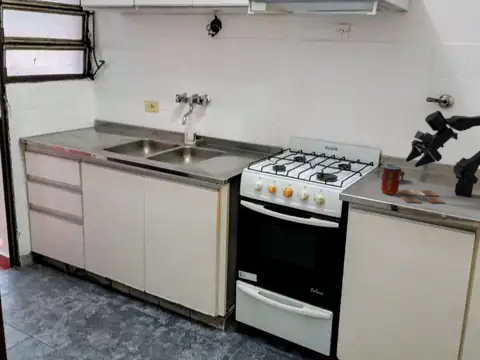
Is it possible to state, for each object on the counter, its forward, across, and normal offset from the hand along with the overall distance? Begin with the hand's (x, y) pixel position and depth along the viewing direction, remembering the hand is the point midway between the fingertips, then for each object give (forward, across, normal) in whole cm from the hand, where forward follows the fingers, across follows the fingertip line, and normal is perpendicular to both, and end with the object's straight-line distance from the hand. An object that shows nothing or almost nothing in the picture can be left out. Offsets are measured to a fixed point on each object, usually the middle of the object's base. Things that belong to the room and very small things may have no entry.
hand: (410, 163), depth 213 cm
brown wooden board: (+6, 0, +13) cm, 14 cm away
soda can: (+15, 0, +4) cm, 16 cm away
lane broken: (+7, +10, +11) cm, 17 cm away
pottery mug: (+9, -21, +10) cm, 25 cm away
